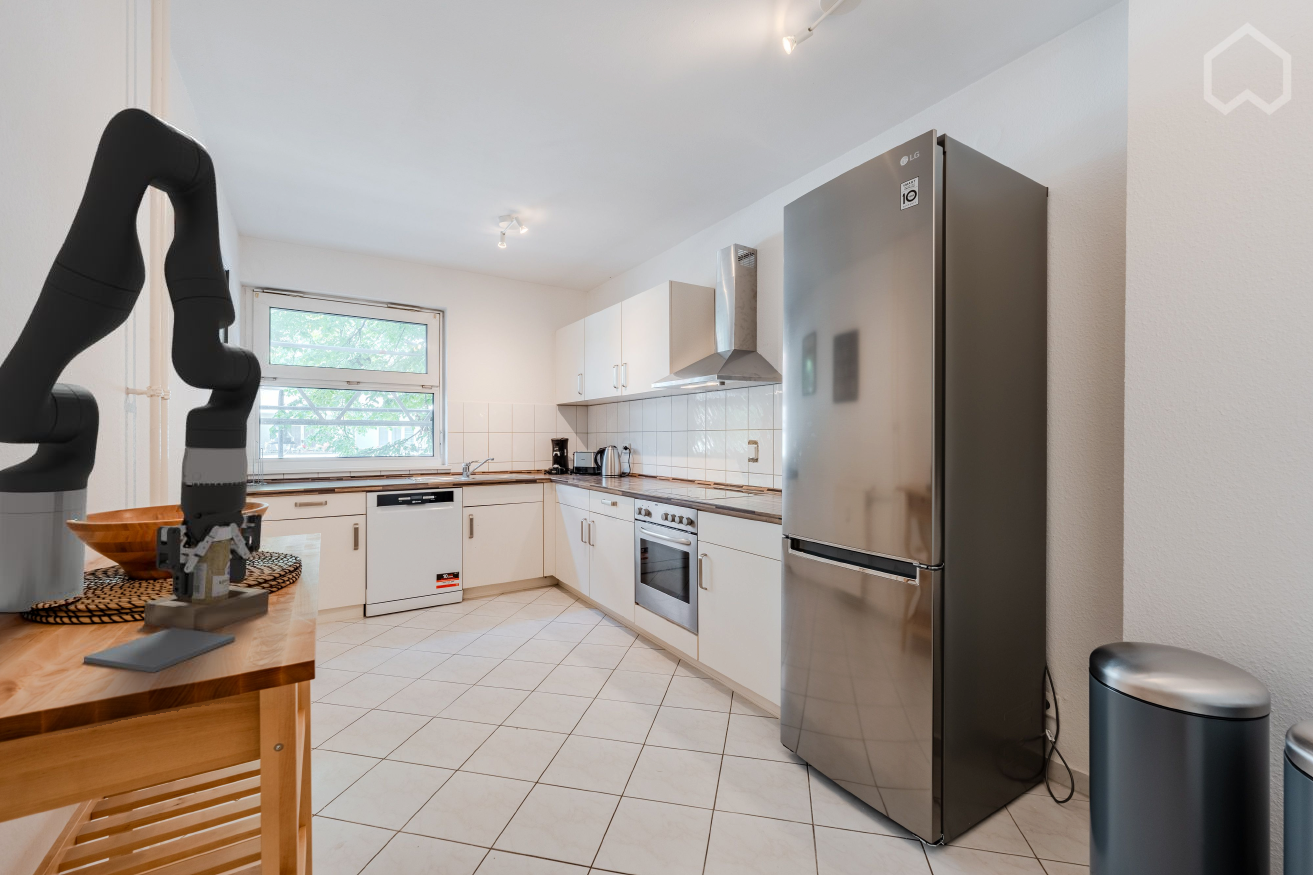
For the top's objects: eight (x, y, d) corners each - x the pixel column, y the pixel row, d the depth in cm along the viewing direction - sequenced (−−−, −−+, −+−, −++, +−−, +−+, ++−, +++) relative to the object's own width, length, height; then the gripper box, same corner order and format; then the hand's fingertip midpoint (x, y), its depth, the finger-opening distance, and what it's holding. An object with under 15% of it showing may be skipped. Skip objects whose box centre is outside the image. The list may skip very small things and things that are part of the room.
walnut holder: (144, 624, 77) (145, 602, 76) (213, 602, 86) (214, 583, 86) (204, 632, 75) (205, 610, 75) (268, 609, 85) (268, 590, 85)
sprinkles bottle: (230, 617, 80) (234, 526, 80) (190, 624, 77) (194, 529, 77) (226, 609, 84) (230, 522, 84) (187, 615, 81) (191, 524, 80)
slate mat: (83, 661, 65) (84, 656, 65) (172, 631, 74) (172, 627, 74) (153, 672, 63) (153, 667, 63) (234, 640, 73) (234, 635, 73)
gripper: (238, 473, 88) (234, 575, 88) (140, 480, 74) (135, 602, 74) (279, 476, 87) (274, 579, 87) (186, 484, 73) (182, 607, 73)
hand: (210, 589), depth 81 cm, fingers open, 7 cm apart
